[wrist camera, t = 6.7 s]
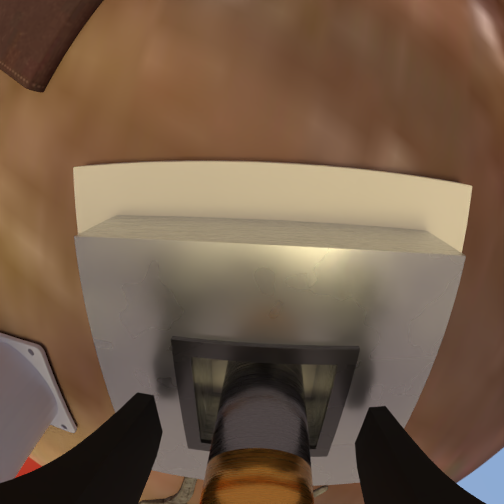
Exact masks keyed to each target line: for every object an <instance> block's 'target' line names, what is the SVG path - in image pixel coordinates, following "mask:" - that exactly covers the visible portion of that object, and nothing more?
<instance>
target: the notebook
mask: <svg viewBox="0 0 504 504" xmlns="http://www.w3.org/2000/svg"><path fill="white" fill-rule="evenodd" d="M102 1H103V0H0V69H1V70H2V71H4V72H5V73H6V74H8V75H9V76H10V77H12V78H13V79H14V80H16V81H17V82H18V83H20V84H21V85H22V86H24V87H25V88H27V89H29V90H33V91H37V92H44V90H45V88H46V86H47V84H48V82H49V80H50V79H51V77H52V75H53V73H54V72H55V70H56V68H57V66H58V65H59V63H60V61H61V60H62V58H63V56H64V55H65V53H66V52H67V50H68V48H69V47H70V45H71V44H72V42H73V41H74V39H75V38H76V36H77V35H78V33H79V32H80V30H81V29H82V27H83V26H84V25H85V23H86V22H87V20H88V19H89V18H90V16H91V15H92V14H93V12H94V11H95V10H96V8H97V7H98V6H99V5H100V3H101V2H102Z"/></svg>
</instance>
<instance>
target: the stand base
mask: <svg viewBox="0 0 504 504" xmlns="http://www.w3.org/2000/svg"><path fill="white" fill-rule="evenodd" d="M73 171H74V192H75V206H76V217H77V227H78V234H80V233H82V232H84V231H85V230H87V229H89V228H91V227H93V226H95V225H97V224H99V223H101V222H103V221H105V220H108V219H110V218H112V217H114V216H116V215H134V216H182V217H214V218H241V219H264V220H284V221H302V222H320V223H336V224H351V225H365V226H378V227H391V228H404V229H416V230H426V231H428V232H430V233H431V234H433V235H434V236H436V237H438V238H439V239H441V240H442V241H444V242H445V243H447V244H449V245H450V246H452V247H453V248H455V249H456V250H458V251H459V252H461V253H462V248H463V243H464V238H465V232H466V227H467V221H468V214H469V207H470V200H471V192H472V186H470V185H467V184H463V183H459V182H453V181H447V180H442V179H435V178H429V177H423V176H416V175H409V174H402V173H394V172H386V171H378V170H370V169H360V168H350V167H340V166H328V165H316V164H301V163H284V162H262V161H224V160H184V161H146V162H125V163H108V164H95V165H84V166H78V167H73ZM211 361H212V379H213V392H217V393H221V392H222V387H223V382H224V377H225V372H226V367H227V362H228V360H217V359H211ZM316 366H317V365H307V364H302V373H303V383H304V392H305V397H311V392H312V387H313V382H314V377H315V372H316Z"/></svg>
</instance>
